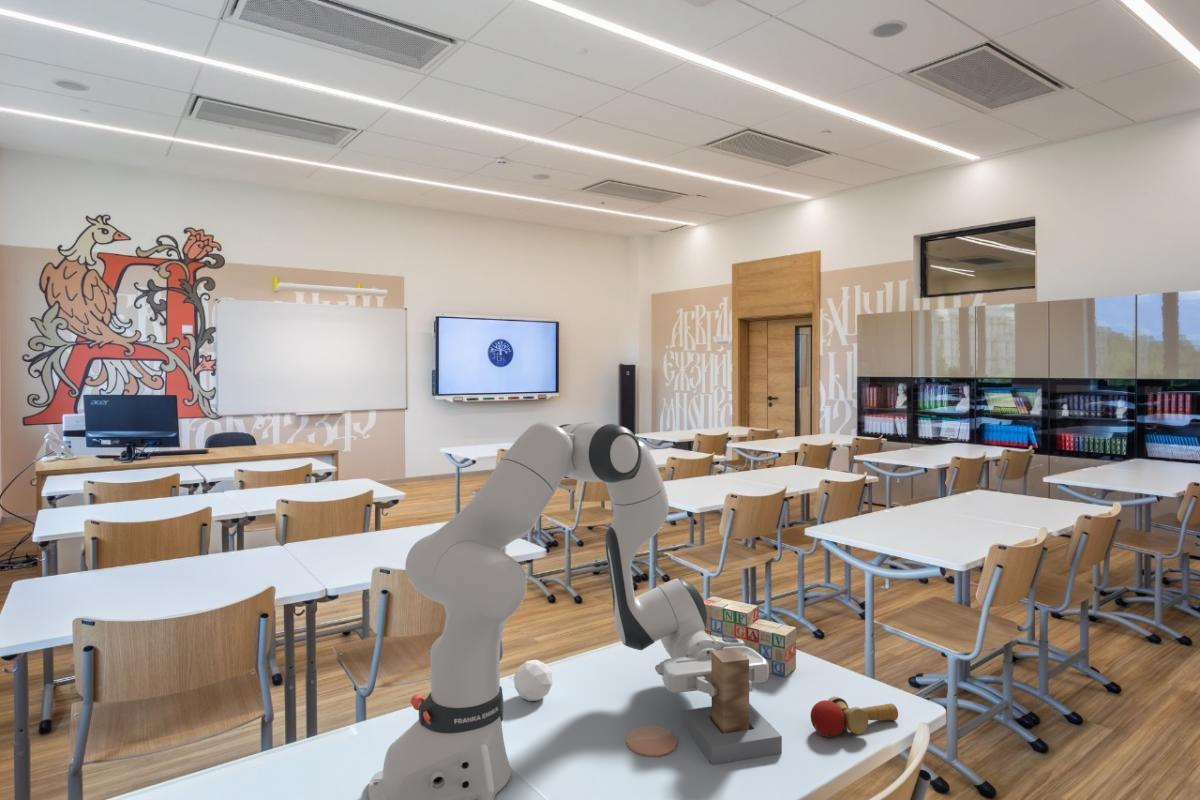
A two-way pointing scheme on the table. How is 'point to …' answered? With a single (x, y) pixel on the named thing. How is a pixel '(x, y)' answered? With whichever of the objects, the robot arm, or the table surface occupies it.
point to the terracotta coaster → (651, 741)
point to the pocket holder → (732, 737)
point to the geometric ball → (533, 680)
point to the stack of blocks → (753, 632)
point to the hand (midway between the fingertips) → (732, 690)
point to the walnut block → (730, 690)
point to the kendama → (847, 716)
